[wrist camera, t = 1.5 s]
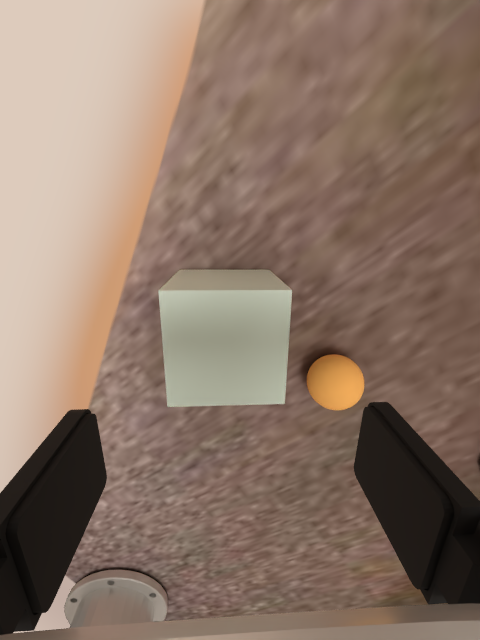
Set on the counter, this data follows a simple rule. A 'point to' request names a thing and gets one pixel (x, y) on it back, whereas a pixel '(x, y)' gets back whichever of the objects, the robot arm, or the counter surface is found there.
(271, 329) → the pale sage cube
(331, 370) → the ball
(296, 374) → the counter surface
